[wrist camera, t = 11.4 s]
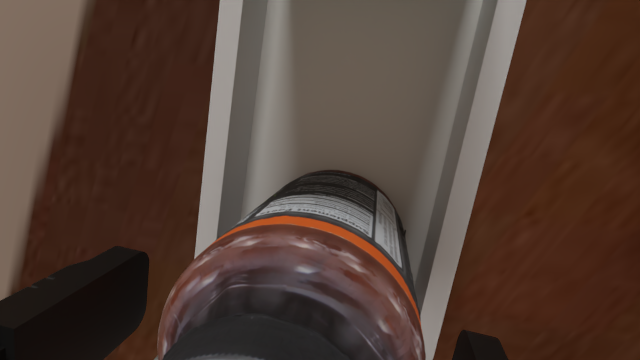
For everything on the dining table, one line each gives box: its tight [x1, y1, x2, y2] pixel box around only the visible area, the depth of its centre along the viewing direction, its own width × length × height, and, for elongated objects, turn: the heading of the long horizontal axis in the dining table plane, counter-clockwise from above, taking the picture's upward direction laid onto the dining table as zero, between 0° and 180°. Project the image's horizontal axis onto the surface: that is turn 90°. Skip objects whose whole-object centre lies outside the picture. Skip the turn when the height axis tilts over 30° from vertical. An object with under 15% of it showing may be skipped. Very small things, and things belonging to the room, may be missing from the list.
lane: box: [154, 0, 526, 360], centre depth 13 cm, size 22×10×6 cm, turn 170°
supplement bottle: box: [157, 170, 426, 360], centre depth 11 cm, size 6×6×11 cm
